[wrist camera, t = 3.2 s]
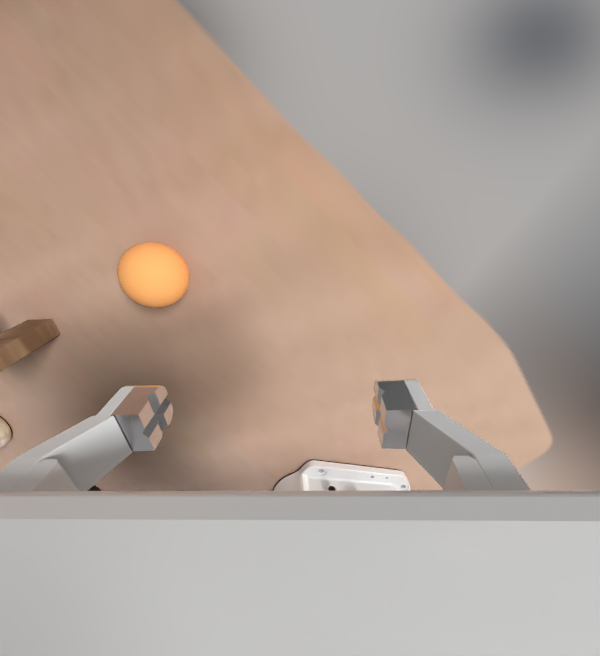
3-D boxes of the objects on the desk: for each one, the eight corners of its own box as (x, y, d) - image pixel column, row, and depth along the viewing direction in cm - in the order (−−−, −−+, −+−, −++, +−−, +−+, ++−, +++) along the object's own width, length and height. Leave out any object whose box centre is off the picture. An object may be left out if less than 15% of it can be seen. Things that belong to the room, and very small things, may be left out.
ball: (190, 235, 27) (162, 249, 22) (203, 292, 30) (181, 317, 25) (131, 238, 28) (89, 252, 22) (150, 294, 31) (116, 319, 25)
